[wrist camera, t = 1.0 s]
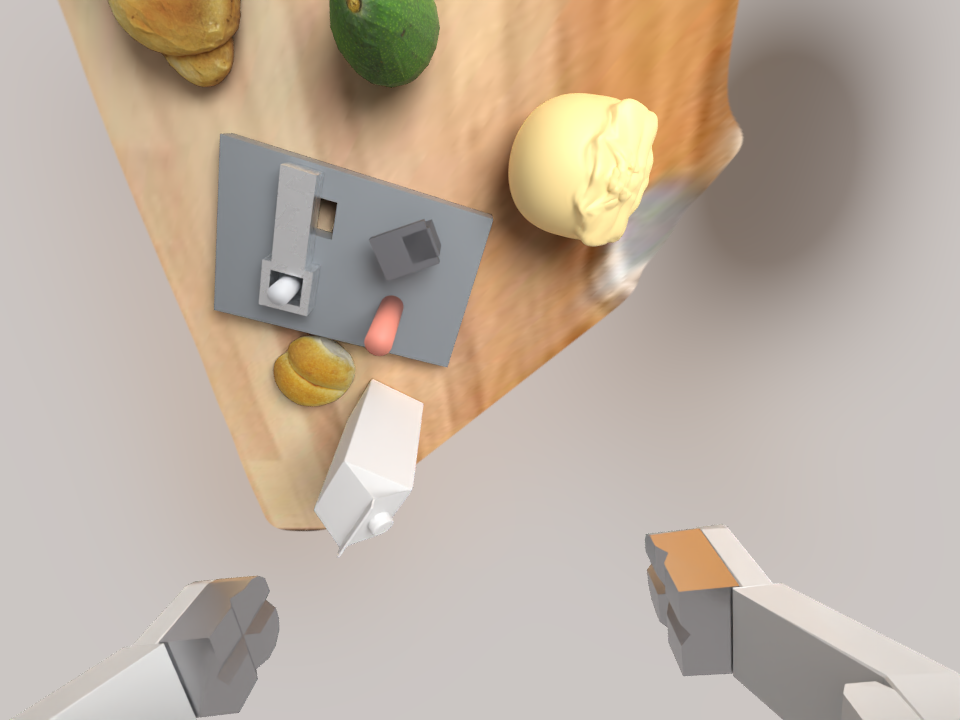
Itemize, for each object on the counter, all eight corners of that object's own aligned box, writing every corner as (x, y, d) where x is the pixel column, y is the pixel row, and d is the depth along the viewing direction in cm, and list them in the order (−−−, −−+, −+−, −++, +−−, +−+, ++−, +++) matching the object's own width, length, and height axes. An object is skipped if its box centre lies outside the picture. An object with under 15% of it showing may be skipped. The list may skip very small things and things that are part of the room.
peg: (383, 292, 46) (367, 328, 38) (405, 298, 46) (394, 335, 38) (378, 313, 47) (362, 352, 39) (400, 319, 47) (389, 358, 39)
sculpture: (606, 234, 46) (644, 262, 37) (494, 214, 45) (503, 238, 35) (643, 111, 41) (698, 107, 32) (518, 84, 40) (537, 71, 30)
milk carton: (347, 419, 56) (299, 544, 39) (372, 377, 53) (332, 493, 36) (398, 441, 58) (373, 570, 41) (424, 402, 55) (409, 523, 38)
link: (314, 307, 46) (306, 316, 44) (268, 295, 45) (258, 304, 43) (333, 175, 40) (326, 178, 38) (281, 159, 39) (270, 161, 37)
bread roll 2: (266, 371, 52) (252, 389, 49) (310, 320, 50) (299, 335, 46) (325, 410, 55) (315, 429, 52) (369, 364, 53) (362, 381, 49)
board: (233, 133, 41) (192, 134, 34) (491, 214, 45) (496, 228, 39) (225, 301, 48) (190, 327, 42) (447, 357, 52) (446, 388, 46)
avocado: (357, -41, 35) (314, -112, 25) (451, 0, 37) (448, -50, 26) (339, 72, 39) (294, 52, 28) (425, 105, 40) (414, 98, 30)
